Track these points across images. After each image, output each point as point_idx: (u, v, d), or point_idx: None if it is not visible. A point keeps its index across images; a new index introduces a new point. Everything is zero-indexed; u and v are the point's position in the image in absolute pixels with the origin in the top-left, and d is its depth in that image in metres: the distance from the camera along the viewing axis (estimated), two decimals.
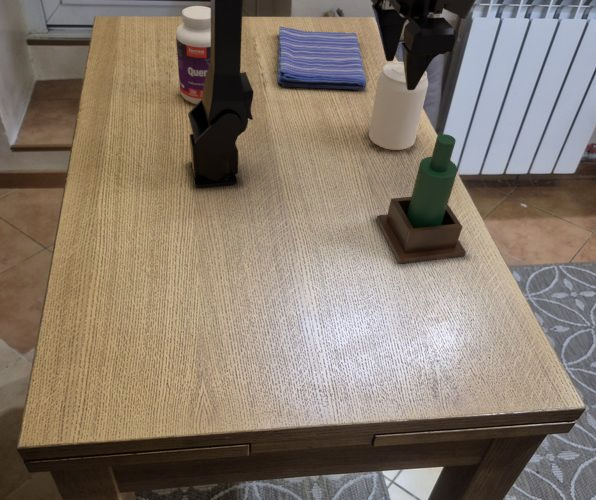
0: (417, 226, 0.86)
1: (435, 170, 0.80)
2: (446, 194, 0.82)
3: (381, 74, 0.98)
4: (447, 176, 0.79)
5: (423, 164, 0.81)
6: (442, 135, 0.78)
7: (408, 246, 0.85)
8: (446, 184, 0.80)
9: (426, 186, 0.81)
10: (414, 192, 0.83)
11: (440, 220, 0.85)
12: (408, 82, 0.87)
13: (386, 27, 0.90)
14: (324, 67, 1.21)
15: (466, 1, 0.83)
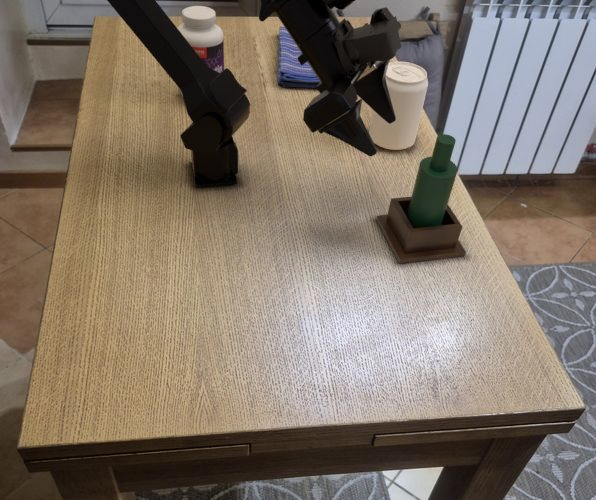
0: (417, 226, 0.86)
1: (435, 170, 0.80)
2: (446, 194, 0.82)
3: None
4: (447, 176, 0.79)
5: (423, 164, 0.81)
6: (442, 135, 0.78)
7: (408, 246, 0.85)
8: (446, 184, 0.80)
9: (426, 186, 0.81)
10: (414, 192, 0.83)
11: (440, 220, 0.85)
12: (361, 150, 0.78)
13: (367, 95, 0.84)
14: None
15: (375, 44, 0.71)
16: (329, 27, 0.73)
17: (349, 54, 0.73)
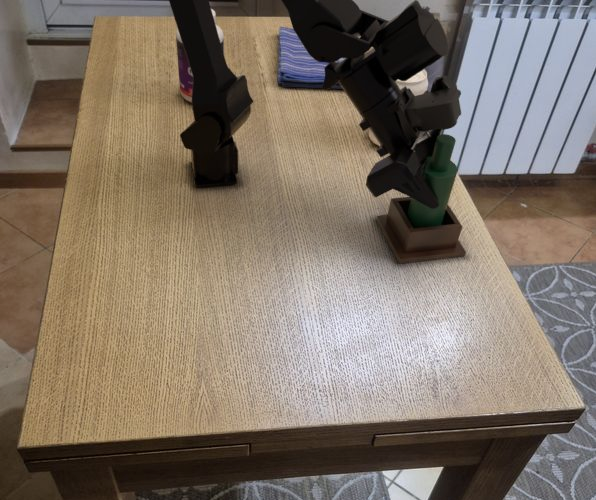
0: (417, 226, 0.86)
1: (435, 170, 0.80)
2: (446, 194, 0.82)
3: None
4: (447, 176, 0.79)
5: None
6: (442, 135, 0.78)
7: (408, 246, 0.85)
8: (446, 184, 0.80)
9: None
10: None
11: (440, 220, 0.85)
12: (424, 203, 0.82)
13: None
14: (324, 67, 1.21)
15: (437, 114, 0.73)
16: (392, 97, 0.75)
17: (411, 122, 0.75)
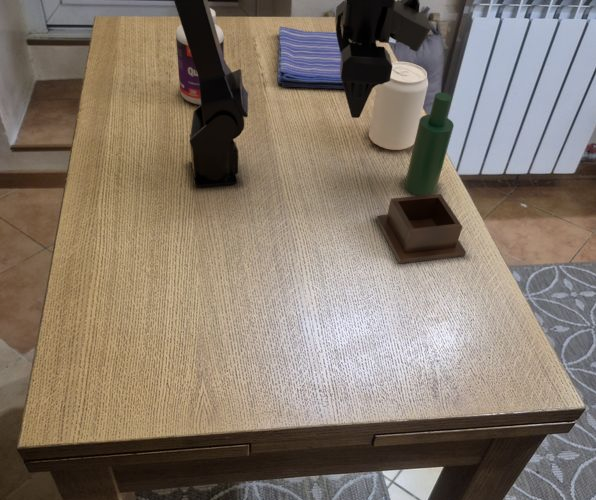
0: (424, 180, 0.94)
1: (437, 126, 0.89)
2: (447, 146, 0.91)
3: None
4: (449, 129, 0.89)
5: (423, 123, 0.90)
6: (438, 94, 0.87)
7: (408, 246, 0.85)
8: (448, 137, 0.90)
9: (431, 142, 0.90)
10: (417, 150, 0.92)
11: None
12: (350, 109, 0.84)
13: None
14: (324, 67, 1.21)
15: (416, 33, 0.79)
16: None
17: (392, 25, 0.78)
